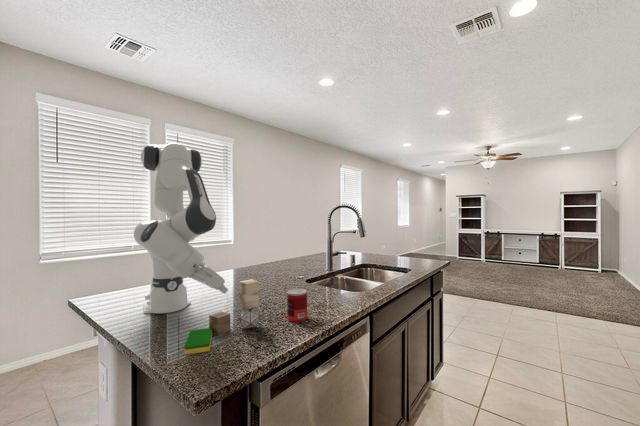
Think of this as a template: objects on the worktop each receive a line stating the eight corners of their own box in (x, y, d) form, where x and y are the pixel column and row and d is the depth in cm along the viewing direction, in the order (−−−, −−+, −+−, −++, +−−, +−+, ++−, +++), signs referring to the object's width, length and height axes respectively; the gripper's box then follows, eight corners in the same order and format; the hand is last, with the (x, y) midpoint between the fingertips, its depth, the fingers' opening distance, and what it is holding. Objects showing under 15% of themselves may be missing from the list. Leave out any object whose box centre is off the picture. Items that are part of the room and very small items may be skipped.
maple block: (239, 306, 106) (239, 281, 106) (252, 303, 109) (251, 279, 109) (246, 309, 102) (246, 283, 102) (259, 306, 105) (258, 281, 105)
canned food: (310, 316, 117) (309, 289, 116) (302, 324, 109) (302, 294, 109) (292, 314, 119) (292, 287, 119) (284, 321, 111) (283, 293, 111)
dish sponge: (184, 356, 86) (184, 347, 86) (190, 337, 100) (190, 330, 100) (209, 352, 88) (209, 344, 88) (212, 334, 102) (212, 327, 102)
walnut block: (209, 332, 102) (209, 315, 102) (221, 327, 107) (220, 311, 107) (218, 335, 100) (218, 318, 100) (230, 330, 104) (230, 313, 104)
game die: (252, 340, 104) (254, 324, 98) (232, 330, 106) (232, 313, 100) (265, 320, 111) (267, 304, 105) (245, 311, 113) (246, 295, 107)
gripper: (209, 259, 85) (240, 286, 92) (185, 252, 100) (213, 276, 107) (193, 276, 82) (227, 303, 89) (171, 267, 97) (201, 291, 104)
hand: (219, 288), depth 98 cm, fingers open, 8 cm apart
